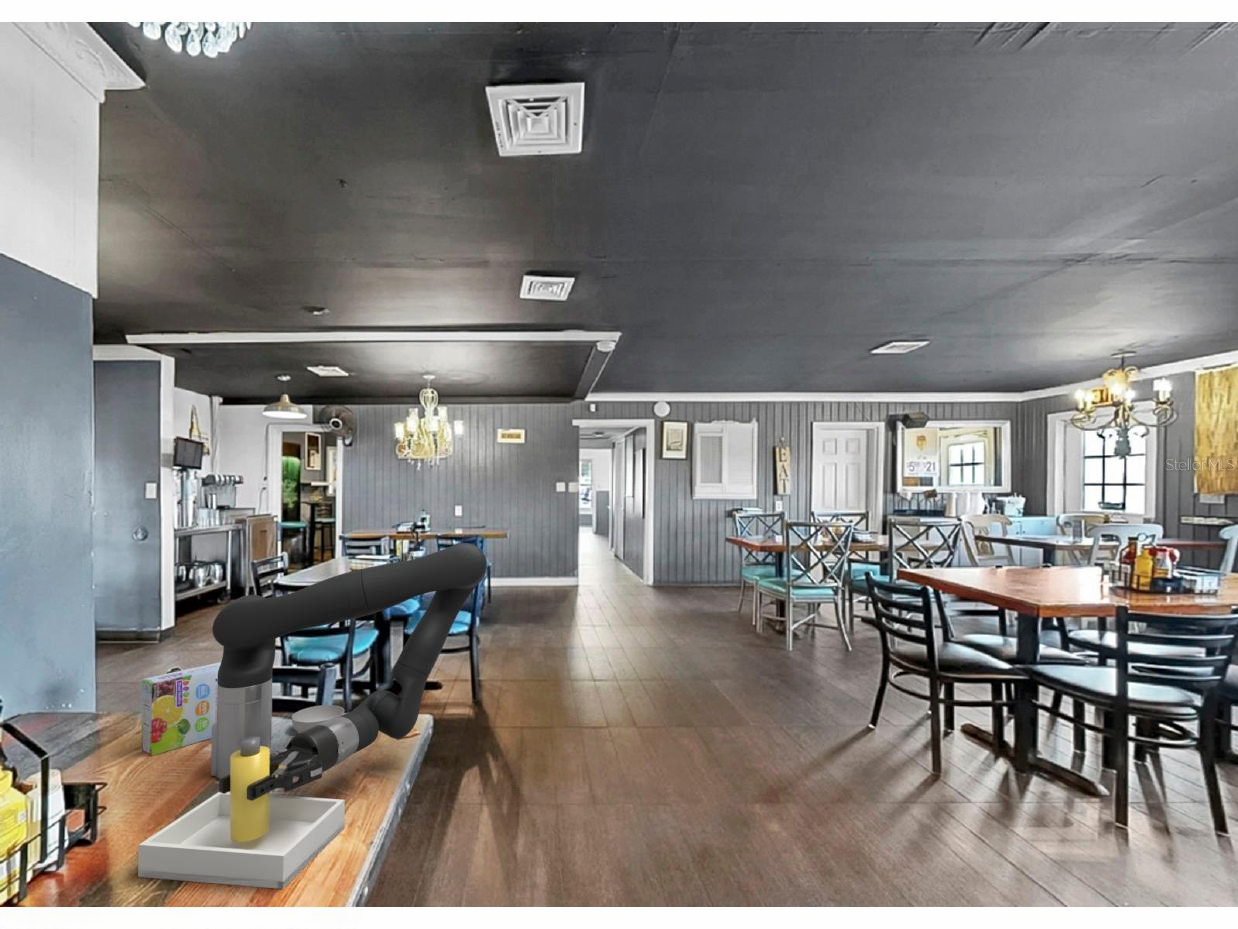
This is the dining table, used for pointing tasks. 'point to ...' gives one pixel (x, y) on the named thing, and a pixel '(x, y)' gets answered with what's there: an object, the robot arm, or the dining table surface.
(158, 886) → the dining table surface
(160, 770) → the dining table surface
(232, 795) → the squeeze bottle
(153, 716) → the snack box
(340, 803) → the tray
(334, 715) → the small pan
